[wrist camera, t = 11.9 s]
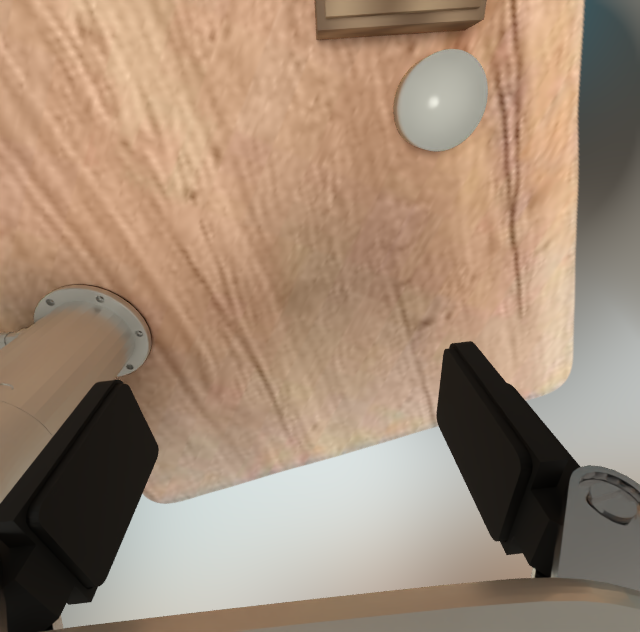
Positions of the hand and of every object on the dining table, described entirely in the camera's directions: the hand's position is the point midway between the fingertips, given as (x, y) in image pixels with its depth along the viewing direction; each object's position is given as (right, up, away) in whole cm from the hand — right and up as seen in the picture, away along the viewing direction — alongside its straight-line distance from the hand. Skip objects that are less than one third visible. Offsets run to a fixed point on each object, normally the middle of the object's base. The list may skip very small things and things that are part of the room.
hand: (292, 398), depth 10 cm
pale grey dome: (+11, +21, +20) cm, 31 cm away
